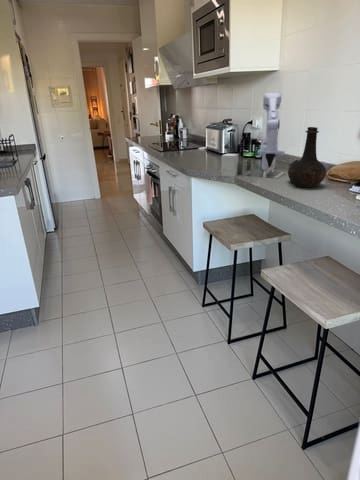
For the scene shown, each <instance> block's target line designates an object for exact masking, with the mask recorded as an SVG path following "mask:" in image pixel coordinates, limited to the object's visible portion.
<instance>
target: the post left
mask: <svg viewBox="0 0 360 480" xmlns="http://www.w3.org/2000/svg"><path fill="white" fill-rule="evenodd" d="M243 165H244V164H243V161H238V175H237V176H242V175H243Z"/></svg>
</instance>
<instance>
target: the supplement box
mask: <svg viewBox="0 0 360 480" xmlns="http://www.w3.org/2000/svg"><path fill="white" fill-rule="evenodd" d="M238 162H239V153H225V154H222V155H221V178H223V177H229V178H230V177H231V178H234V177H236V176H239V175H238Z"/></svg>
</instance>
